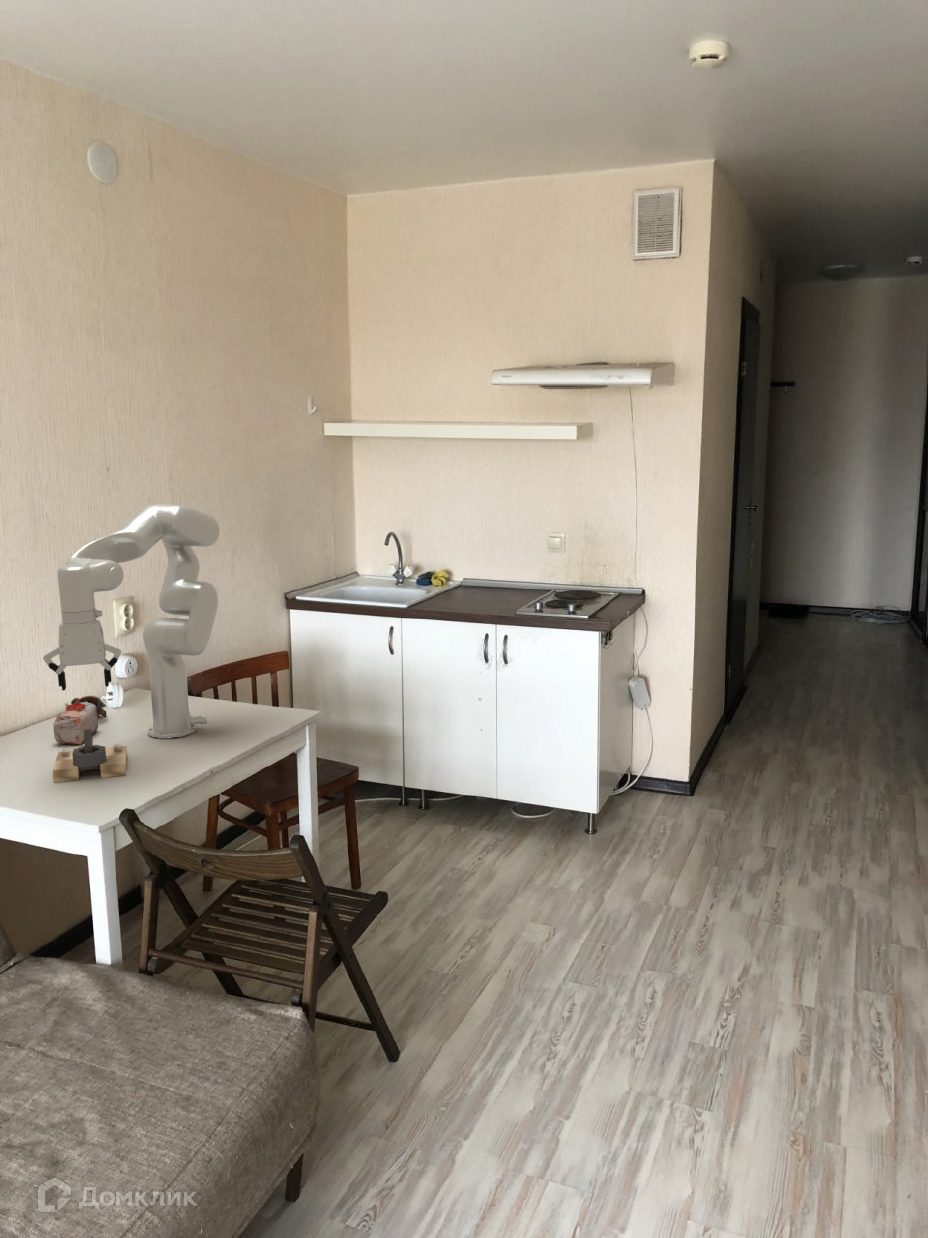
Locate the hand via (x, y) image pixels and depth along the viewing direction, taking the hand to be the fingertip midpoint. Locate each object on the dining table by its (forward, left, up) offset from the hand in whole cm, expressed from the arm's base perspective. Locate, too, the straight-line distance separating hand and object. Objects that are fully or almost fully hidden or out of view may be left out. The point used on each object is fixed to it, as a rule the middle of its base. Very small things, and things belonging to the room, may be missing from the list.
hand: (85, 687), depth 235 cm
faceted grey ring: (0, +3, -18) cm, 18 cm away
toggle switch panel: (0, -1, -21) cm, 21 cm away
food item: (+5, -28, -21) cm, 35 cm away
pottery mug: (+4, -44, -21) cm, 49 cm away
